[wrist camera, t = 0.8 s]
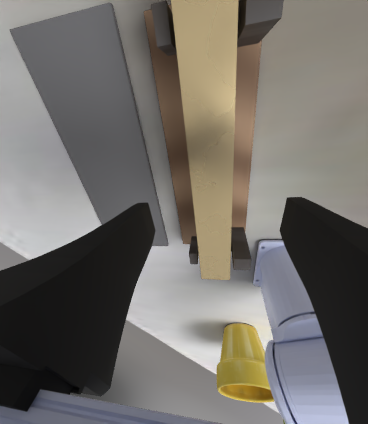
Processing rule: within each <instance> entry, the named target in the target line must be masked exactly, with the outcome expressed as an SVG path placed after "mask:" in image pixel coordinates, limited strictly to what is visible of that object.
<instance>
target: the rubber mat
mask: <svg viewBox="0 0 368 424" xmlns="http://www.w3.org/2000/svg"><path fill="white" fill-rule="evenodd" d="M10 32H11V34H12V36H13V39H14V41H15V43H16V45H17V47H18V49H19V51H20V53H21V55H22V57H23V60H24V62H25V64H26V66H27V68H28V70H29V72H30V74H31V76H32V79H33V81H34V83H35V85H36V87H37V89H38V91H39V93H40V95H41V97H42V100H43V102H44V104H45V106H46V108H47V110H48V112H49V114H50V116H51V119H52V121H53V123H54V125H55V127H56V129H57V131H58V133H59V135H60V137H61V140H62V142H63V144H64V146H65V148H66V150H67V152H68V154H69V156H70V159H71V161H72V163H73V165H74V167H75V169H76V171H77V173H78V175H79V177H80V180H81V182H82V184H83V186H84V188H85V190H86V192H87V194H88V196H89V199H90V201H91V203H92V205H93V207H94V209H95V211H96V213H97V215H98V218H99V220H100V222H101V224H102V225H103V224H105V223H106V222H108V221H110V220H111V219H113V218H114V217H116V216H117V215H119V214H120V213H122V212H123V211H125V210H126V209H128V208H130V207H131V206H133V205H135V204H137V203H145V202H148V204H149V207H150V211H151V215H152V219H153V222H154V226H155V230H156V231H155V236H154V240H153V243H152V246H168V240H167V236H166V232H165V227H164V223H163V219H162V214H161V210H160V206H159V202H158V197H157V193H156V189H155V184H154V180H153V176H152V172H151V167H150V163H149V159H148V154H147V150H146V146H145V142H144V137H143V133H142V129H141V124H140V120H139V116H138V111H137V107H136V103H135V99H134V94H133V90H132V86H131V81H130V77H129V73H128V69H127V64H126V60H125V56H124V51H123V47H122V43H121V39H120V34H119V30H118V26H117V21H116V17H115V13H114V9H113V5H112V4H111V3H107V4H103V5H99V6H95V7H92V8H88V9H84V10H81V11H77V12H73V13H69V14H66V15H62V16H58V17H55V18H51V19H47V20H43V21H40V22H36V23H32V24H29V25H25V26H21V27H17V28H14V29H10Z"/></svg>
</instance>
